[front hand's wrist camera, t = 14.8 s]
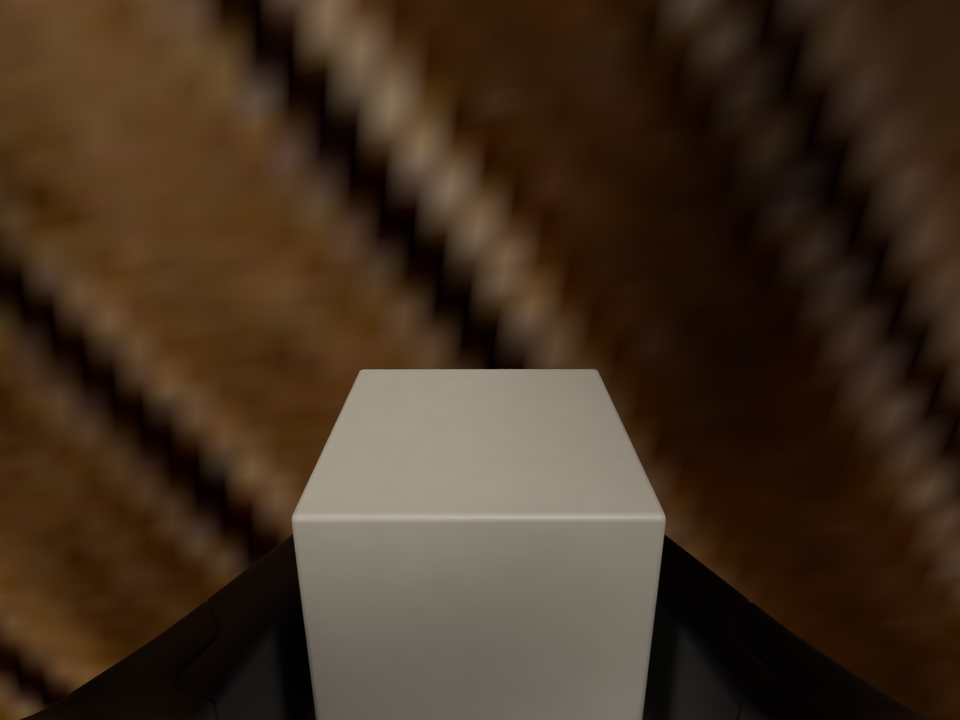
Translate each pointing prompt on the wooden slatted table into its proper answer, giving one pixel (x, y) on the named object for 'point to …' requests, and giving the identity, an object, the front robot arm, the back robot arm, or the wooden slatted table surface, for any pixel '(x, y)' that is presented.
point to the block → (478, 551)
